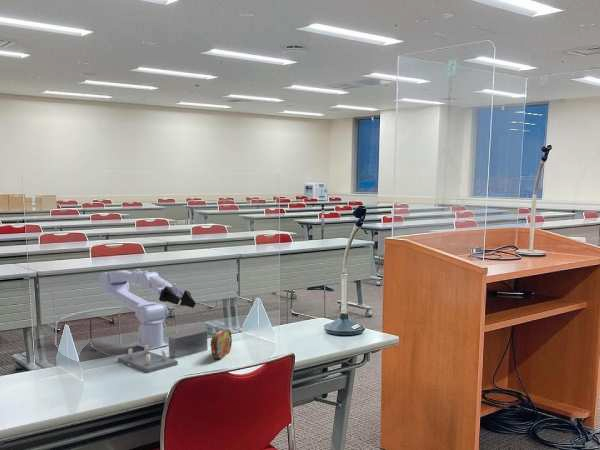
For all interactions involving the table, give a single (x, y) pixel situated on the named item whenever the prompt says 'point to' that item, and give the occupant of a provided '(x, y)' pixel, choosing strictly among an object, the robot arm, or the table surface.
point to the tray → (148, 360)
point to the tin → (221, 344)
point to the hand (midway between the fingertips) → (186, 303)
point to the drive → (187, 343)
